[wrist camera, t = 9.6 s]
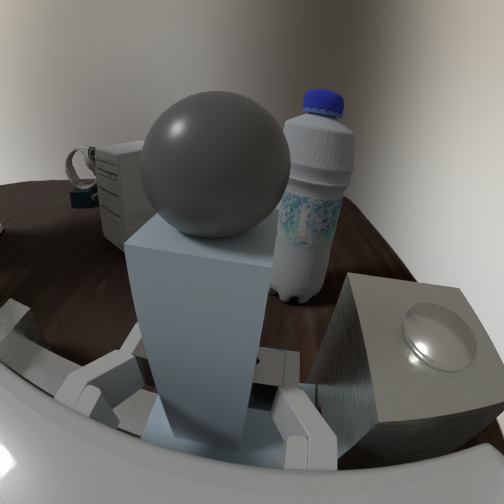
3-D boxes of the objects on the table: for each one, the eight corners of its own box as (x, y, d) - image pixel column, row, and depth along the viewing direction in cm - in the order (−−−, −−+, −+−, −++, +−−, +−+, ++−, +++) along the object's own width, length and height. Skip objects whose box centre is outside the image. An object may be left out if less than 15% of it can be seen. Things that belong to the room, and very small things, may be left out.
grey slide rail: (-2, 387, 12) (-72, 269, 7) (43, 327, 19) (3, 213, 14) (395, 491, 10) (527, 399, 5) (384, 400, 17) (462, 282, 12)
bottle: (271, 265, 33) (295, 88, 23) (325, 282, 31) (365, 100, 21) (248, 297, 27) (274, 78, 17) (314, 318, 25) (365, 92, 15)
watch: (99, 208, 43) (94, 147, 38) (64, 208, 43) (58, 151, 37) (111, 197, 48) (107, 142, 43) (78, 197, 48) (73, 145, 42)
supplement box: (143, 221, 40) (140, 139, 34) (172, 237, 37) (172, 143, 30) (102, 237, 35) (93, 147, 29) (126, 257, 31) (117, 153, 25)
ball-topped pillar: (152, 471, 11) (4, 112, 3) (179, 394, 16) (155, 96, 8) (292, 497, 10) (538, 174, 2) (298, 415, 16) (400, 126, 7)
